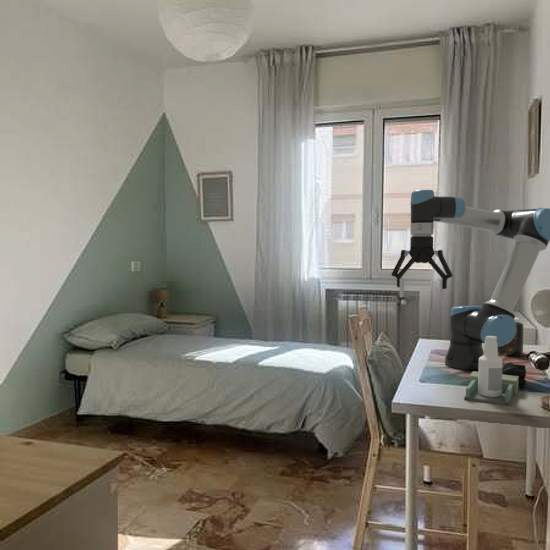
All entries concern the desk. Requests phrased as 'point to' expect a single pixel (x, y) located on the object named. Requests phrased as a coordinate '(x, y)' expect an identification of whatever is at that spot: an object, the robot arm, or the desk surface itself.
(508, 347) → the jar
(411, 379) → the desk surface
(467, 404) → the desk surface
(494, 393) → the spray bottle
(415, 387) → the desk surface
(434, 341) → the desk surface
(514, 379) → the chute bracket
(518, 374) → the end cap
